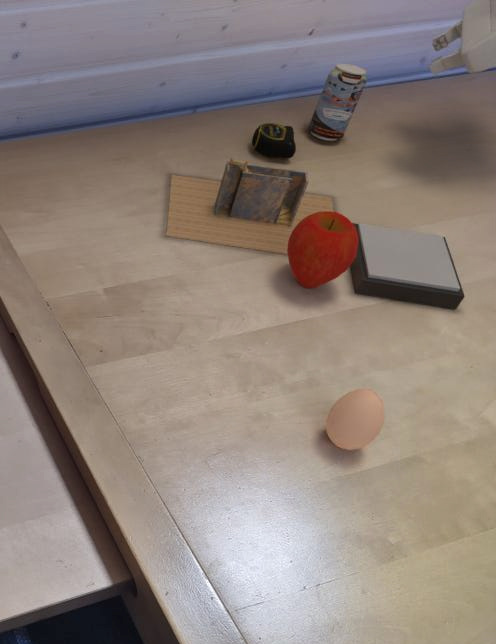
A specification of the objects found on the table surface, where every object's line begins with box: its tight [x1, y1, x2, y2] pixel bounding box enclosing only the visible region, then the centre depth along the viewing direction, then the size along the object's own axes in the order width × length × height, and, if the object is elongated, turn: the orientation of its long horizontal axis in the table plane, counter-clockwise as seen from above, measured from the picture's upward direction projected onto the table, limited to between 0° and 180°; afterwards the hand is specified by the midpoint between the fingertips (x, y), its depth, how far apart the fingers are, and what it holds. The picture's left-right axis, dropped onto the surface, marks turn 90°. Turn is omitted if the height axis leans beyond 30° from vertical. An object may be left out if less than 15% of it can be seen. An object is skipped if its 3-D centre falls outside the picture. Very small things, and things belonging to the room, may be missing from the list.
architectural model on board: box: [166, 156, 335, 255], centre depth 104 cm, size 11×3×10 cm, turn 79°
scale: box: [350, 222, 466, 310], centre depth 99 cm, size 13×13×3 cm
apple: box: [287, 211, 359, 290], centre depth 93 cm, size 9×8×11 cm
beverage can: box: [307, 62, 368, 142], centre depth 120 cm, size 6×7×12 cm
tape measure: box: [251, 122, 297, 159], centre depth 119 cm, size 7×7×4 cm
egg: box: [325, 388, 386, 451], centre depth 76 cm, size 5×5×8 cm
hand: (432, 57), depth 112 cm, fingers open, 8 cm apart
